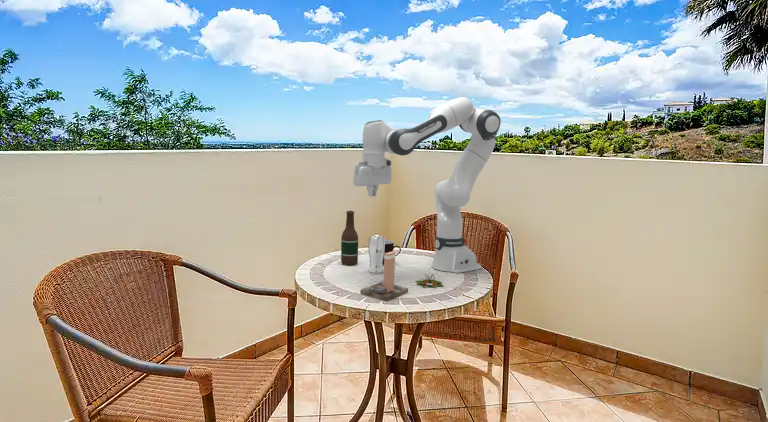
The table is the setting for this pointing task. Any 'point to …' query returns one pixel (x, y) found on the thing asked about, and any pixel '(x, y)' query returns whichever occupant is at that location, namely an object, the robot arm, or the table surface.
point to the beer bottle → (349, 242)
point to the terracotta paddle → (389, 271)
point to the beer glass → (376, 253)
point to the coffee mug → (389, 248)
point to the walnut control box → (384, 296)
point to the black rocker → (380, 290)
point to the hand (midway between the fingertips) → (372, 196)
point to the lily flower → (431, 281)
